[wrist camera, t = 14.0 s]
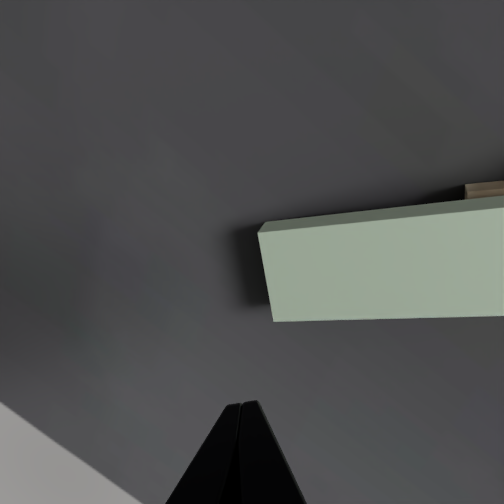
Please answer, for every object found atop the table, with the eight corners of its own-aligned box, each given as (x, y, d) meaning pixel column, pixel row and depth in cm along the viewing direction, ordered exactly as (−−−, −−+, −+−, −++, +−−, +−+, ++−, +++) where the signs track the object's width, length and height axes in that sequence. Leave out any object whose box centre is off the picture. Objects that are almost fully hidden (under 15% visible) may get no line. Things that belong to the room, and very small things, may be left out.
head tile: (265, 221, 17) (554, 189, 14) (279, 303, 19) (542, 293, 15) (257, 232, 16) (582, 199, 12) (273, 321, 17) (565, 314, 14)
